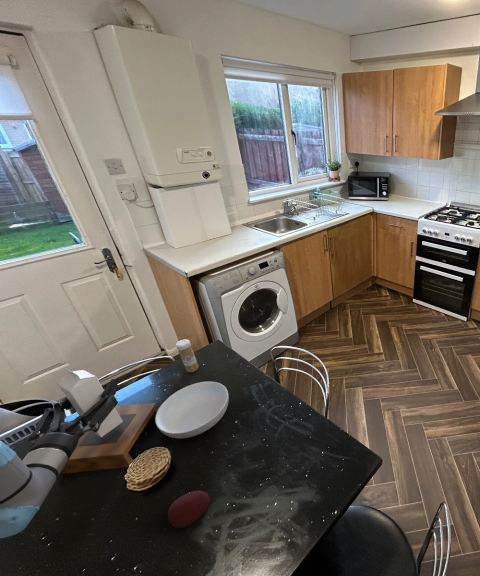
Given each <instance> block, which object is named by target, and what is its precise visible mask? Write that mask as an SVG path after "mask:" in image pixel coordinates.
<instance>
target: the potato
mask: <svg viewBox="0 0 480 576" xmlns="http://www.w3.org/2000/svg"><path fill="white" fill-rule="evenodd" d="M210 500H211V498H210V496H209V494H208V493H207V492H206V491H203V490H193V491H190V492H188V493H185V494H184V495H182V496H180V497H178V498H176V499H175V500H174V501H173V502H172V503H171V505H170V507H169V508H168V511H167V521H168V523H169V524H170V526H172V527H173V528H175V529H185V528H186V527H188V526H190V525H192V524H194V523H195V522H196V521H197V520H199V519H200V518H201V516H202V515H203V514H204V513H205V512H206V510H207V509H208V507H209V506H210V502H211V501H210Z"/></svg>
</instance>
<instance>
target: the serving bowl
mask: <svg viewBox="0 0 480 576" xmlns="http://www.w3.org/2000/svg"><path fill="white" fill-rule="evenodd" d="M229 399H230V397H229V391H228V389H227V387H226V386H225V385H223V384H222V383H220V382H217V381H200V382H196V383H193V384H190V385H187V386H185V387H183V388H181V389H179V390H177V391H176V392H174V393H173V394H171V395H170V396H168V398H166V399H165V400H164V402H162V404H161V405H160V406H159V407H158V408H159V409H158V411H157V414H156V418H155V419H154V422H155V425H156V427H157V428H158V430H159V431H160V432H161V434H164V435H165V436H167V437H169V438H172V439H189V438H193V437H196V436H199V435H201V434H203V433H205V432H206V431H207V432H208V431H209V430H210V429H212V428H213V427H214V426H215V425H217V423H219V422H220V421H221V419H222V418H223V417H224V415H225V413H226V411H227V409H228V406H229V402H230V401H229Z"/></svg>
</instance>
